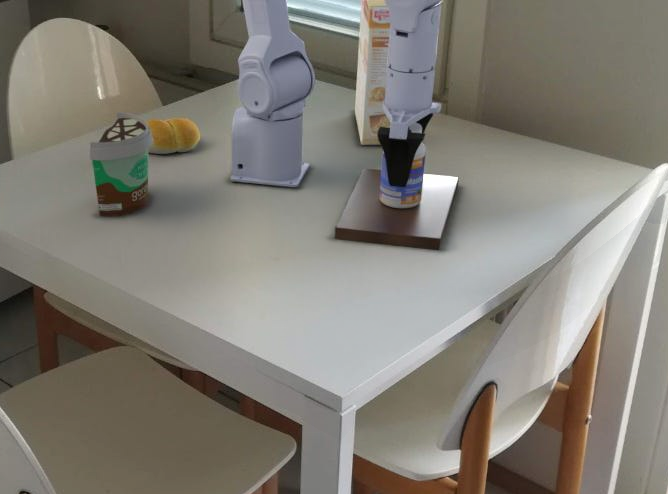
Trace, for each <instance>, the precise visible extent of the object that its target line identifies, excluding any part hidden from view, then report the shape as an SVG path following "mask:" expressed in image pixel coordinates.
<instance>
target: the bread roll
mask: <svg viewBox="0 0 668 494" xmlns="http://www.w3.org/2000/svg"><path fill="white" fill-rule="evenodd" d="M146 122H147V124H148V126H149V127H150V130H151V134H152V137H153V144H152V146H151V147H150V148H149V149H148V154H149V153H150V154H155V155H157V154H158V155H168V154H173V153H176V152H178V153H187V152H190V151H192V150H194V148H195V147H197V145H198V144H199V142H200V140H201V133H200V130H199V127H198V126H197V125H196V124H195V123H194V122H193V121H192V120H190V119H189V118H186V117H178V118H177V117H175V118H174V117H173V118H168V119H165V120H163V119H160V118H154V119H147V120H146Z"/></svg>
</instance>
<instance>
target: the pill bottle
mask: <svg viewBox="0 0 668 494" xmlns="http://www.w3.org/2000/svg"><path fill="white" fill-rule="evenodd" d="M409 130H411V132H412V133H422V126H421V125H420V124H418V123H413V124H412V125H410V129H409ZM426 153H427V147H426V145H425V144H424V143H423V141H422V142H421V144H420V146H419V147H418V149H417V151H416V153H415V157H414V160H413V164H412V168H411V172H410V176H409V179H408V182H407V185H406V187H396V186H390V185H389V181H388V175H387V167H386V160H385V155H384V152H383V151H382V154H381V167H380V170H381V182H380V201H381V202H382V203H383V204H385V205H387V206H389V207H393V208H410V207H414V206H416V205H418V204H419V203H420V202H421V197H422V186H423V175H424V174H425V164H426V155H427V154H426Z"/></svg>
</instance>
